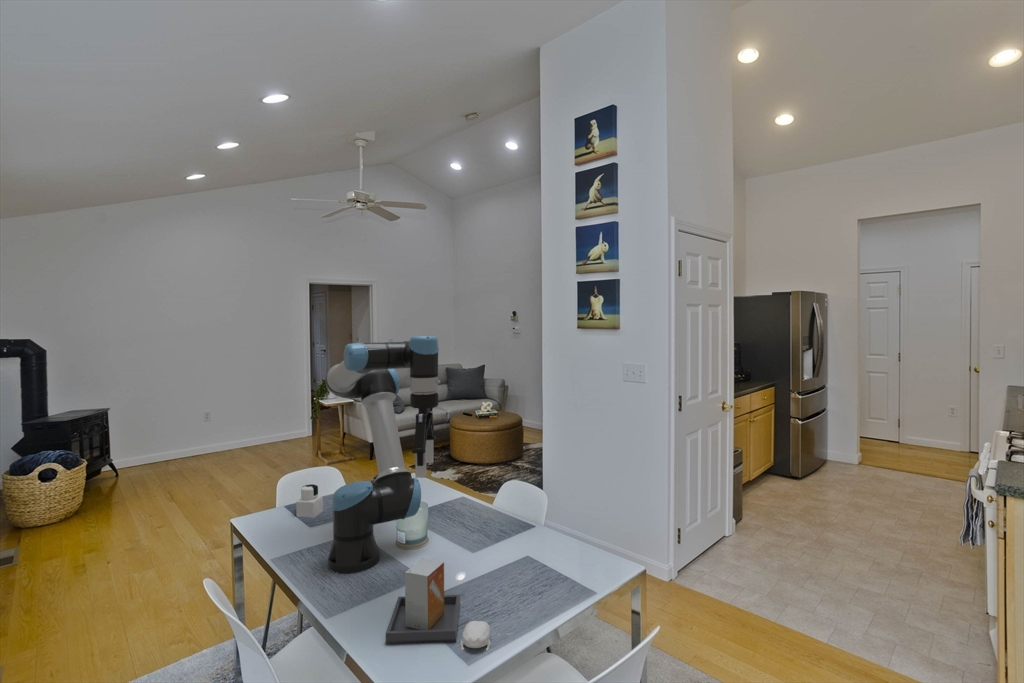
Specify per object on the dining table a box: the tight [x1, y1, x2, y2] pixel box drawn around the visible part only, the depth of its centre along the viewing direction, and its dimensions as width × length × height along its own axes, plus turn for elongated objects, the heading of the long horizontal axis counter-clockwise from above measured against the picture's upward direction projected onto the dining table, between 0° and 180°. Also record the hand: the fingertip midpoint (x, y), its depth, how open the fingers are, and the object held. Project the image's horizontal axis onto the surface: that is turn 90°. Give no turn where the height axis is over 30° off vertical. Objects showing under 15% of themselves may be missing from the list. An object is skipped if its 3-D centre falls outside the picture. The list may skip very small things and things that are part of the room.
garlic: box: [459, 620, 491, 651], centre depth 113 cm, size 8×7×4 cm
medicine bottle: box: [295, 484, 324, 519], centre depth 191 cm, size 7×7×12 cm
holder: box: [385, 594, 461, 645], centre depth 120 cm, size 16×16×2 cm
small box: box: [404, 557, 445, 630], centre depth 120 cm, size 8×6×13 cm
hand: (425, 469), depth 137 cm, fingers open, 13 cm apart
